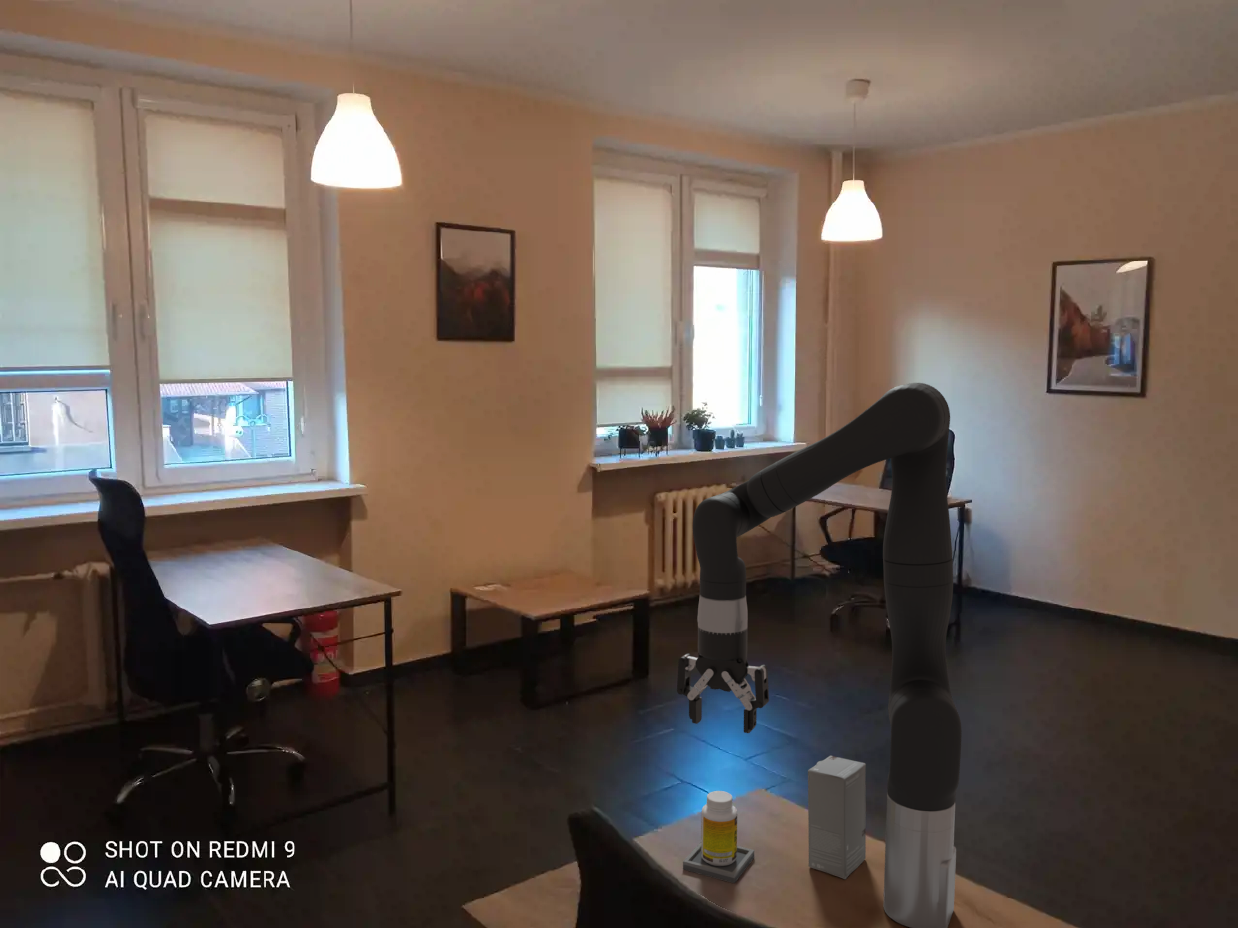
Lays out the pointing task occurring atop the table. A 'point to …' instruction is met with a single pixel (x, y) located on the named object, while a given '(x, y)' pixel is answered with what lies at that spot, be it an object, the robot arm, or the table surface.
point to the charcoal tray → (725, 873)
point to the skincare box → (837, 816)
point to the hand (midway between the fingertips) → (722, 726)
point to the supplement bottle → (719, 829)
